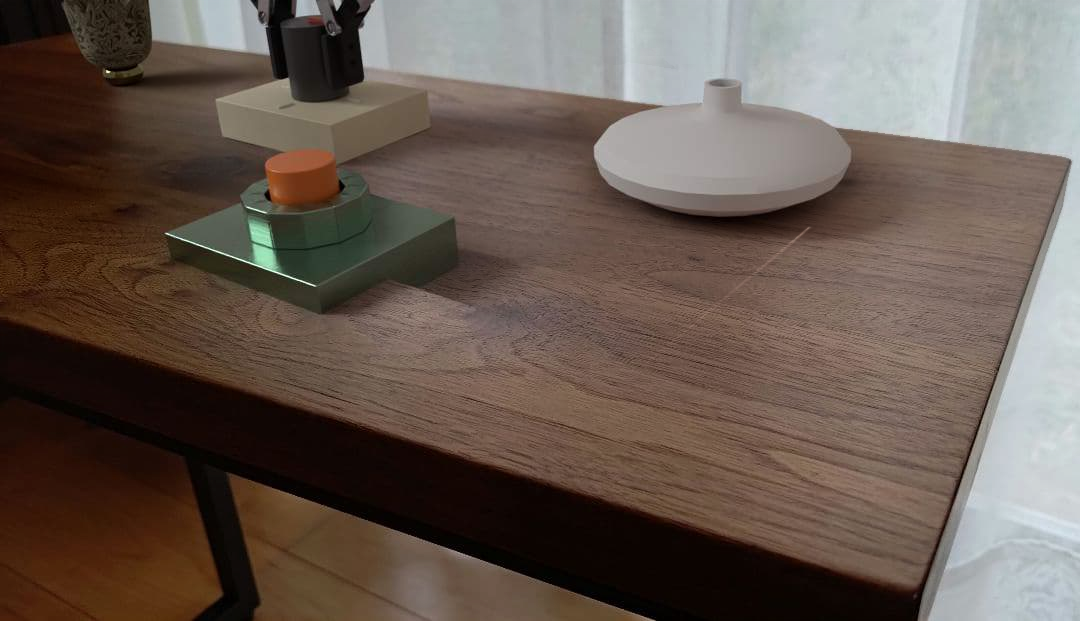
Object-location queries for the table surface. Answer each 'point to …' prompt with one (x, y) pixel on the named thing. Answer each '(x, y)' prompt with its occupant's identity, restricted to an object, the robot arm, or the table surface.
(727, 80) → the vase
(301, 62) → the dial
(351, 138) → the dial panel
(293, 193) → the orange push button
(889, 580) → the table surface
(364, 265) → the button base
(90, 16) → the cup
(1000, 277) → the table surface
